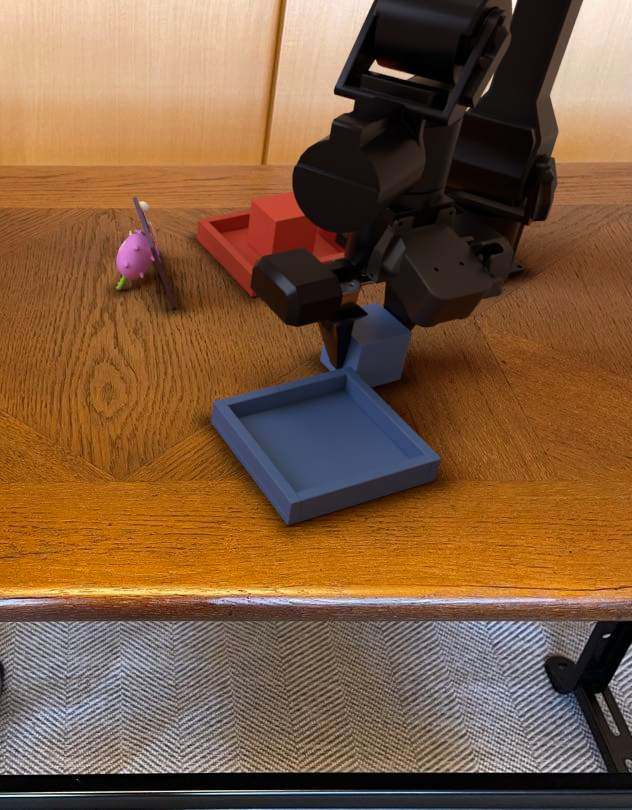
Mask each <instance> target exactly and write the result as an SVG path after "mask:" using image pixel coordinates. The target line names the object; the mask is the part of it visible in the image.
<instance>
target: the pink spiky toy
mask: <svg viewBox="0 0 632 810" xmlns="http://www.w3.org/2000/svg"><path fill="white" fill-rule="evenodd" d="M132 202H133V204H134V207H135V210H136V213H137V215H138V219H139V221H140V224H141V227H142V228H141V229H138V228H137V229H134V232H136V233H133V232H132V231H131V230H129V233H128V237H127V238H126V239H125V240H124V241H123V242H122V244H121V245H120V246H119V249H118V251H117V255H116V263H115V264H116V269H117V271H118V272H119V274H120V275H121V278H120V279H119V282H117V286H116V287H115V289H116V290H117V291H121V290H122V288H123V287H124V286H125V284H126V283H127V282H128V280H132V281H133V280H137V279H139V278H141V279H144V273H146V271H147V270H148V269H149V267H150V265H152V263H153V262H154V263H155V265H156V268H157V271H158V274H159V276H160V279H161V282H162V284H163V287H164V290H165V292H166V295H167V298H168V301H169V303H170V306H171V309H172V310H174V309H177V305H176V303H175V300H174V297H173V296H174V295H173V294H172V291H171V287H170V286H169V283H168V280H167V277H166V275H165V272H164V269H163V266H162V264H163V262H162V260H161V258H160V257H159V255H160V249H159V246H158V244H157V242H158V239H157V236H156V233H155V230H154V228H153V224H152V222H151V220H150V219H149V220H147V217H148V216H147V215H148V213H149V212H150V206H149V204H148V203H147V202H146V201H143V200H141V201H139V200H138V197H137V196H134V197H132Z"/></svg>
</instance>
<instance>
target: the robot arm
mask: <svg viewBox="0 0 632 810" xmlns="http://www.w3.org/2000/svg"><path fill="white" fill-rule="evenodd" d="M583 2H584V0H516V2H515V5H514V9H513V0H373V1H372V3H371V6H370V8H369V10H368V12H367V15H366V16H365V19H364V21H363V23H362V25H361V28H360V30H359V31H358V34H357V36H356V38H355V41H354V43H353V45H352V47H351V50H350V52H349V54H348V57H347V59H346V61H345V63H344V65H343V68H342V70H341V72H340V74H339V77H338V78H337V80H336V83H335V85H334V87H333V95H334V96H337V97H342V98H345V99H349V100H352V101H353V103H354V104H353V108H352V110H351V111H349V112H344V113H341V114H340V115H337V117H334V118H333V120H332V122H331V126H330V130H329V131H330V132H329V134H328V135H326V136H325V137H323V138H321V139H320V140H318V141H317V142H315V143H313V144H312V145H309V147H307V148H306V149H305V150H304V151H303V152H302V154H301V155H300V156H299V159H298V160H297V162H296V164H295V165H294V167H293V170H292V175H291V187H292V192H294V197H295V199H296V202H297V204H298V206H299V208H300V209H301V211H302V212H303V214H304V215H305V216H306V217H307V218H308V219H309V220H310V221H311V222H312V223H313V224H315V225H316V226H318V227H320V228H321V229H323V230H325V231H328V232H333V233H336V238H335V243H337V244H338V245H339V246H340V247H341V248H343V249H344V250H345V252H344V257H341V258H336V259H333V262H329V263H324V264H323V263H322V262H321V261H320V260H319V259H317V258H316V257H315V256H314V255H313V254H312V253H311V252H310V251H309V250H307V249H306V248H305V247H302V248H298V249H293V250H288V251H283V252H279V253H274V254H269V255H265V256H262V257H261V258H259V259H258V260H256V262H255V264H254V267H253V269H252V277H251V286H250V288H251V289H252V290H253V291H254V292H255V293H256V294H257V295H258V296H257V297H258V298H260V299H261V301H262V302H263V303H264V304H265V305H266V306H267V307H268V308H269V309H270V310H271V311H272V312H273V313H274V314H275V316H277V317H278V318H279V320H281V321H282V322H283V323H284V325H285V326H289V327H294V328H300V327H303V326H309V325H312V324H317V326H318V328H319V331H320V335H321V339H322V342H324V345H325V348H326V351H327V354H328V358H329V361H330V363H331V365H332V366H333V367H334V368H335V369H336V370H337V369H341V368H342V366H343V363H344V361H345V358H346V356H347V352H348V348H349V343H350V339H351V335H352V330H353V326H354V322H355V321H356V320H359V319H361V318H363V317H365V316H367V315H368V313H367V312H366V311H365V310H364V309H362V308H361V305H359V304H358V299H359V295H360V292H361V291H362V287H364V286H369V285H373V284H376V285H377V284H382V283H385V287H384V295H383V296H384V297H383V305H382V307H383V308H385V309H386V310H387V311H388V312H389V313H390V314H391V315H393V316H394V317H395V318H396V319H397V320H398V321H399V322H401V323H402V324H403V325H404V326H405V327H406V328H407V329H409V330H410V331H411V332H412V331H413V330H414V328H415V327H416V326H418V327H421V328H424V329H425V328H426V329H428V328H433V327H436V326H437V325H440V324H444V323H447V322H451V321H456V320H460V321H461V320H465V319H468V318H469V317H470V316H471V315H472V314H473V312H474V311H475V309H476V308H477V307H478V305H479V304H480V303H481V302H482V300H486V299H490V298H491V299H492V298H495V297H499V296H501V295H502V293H503V284H504V283H505V281H507V279H508V277H512V276H513V277H514V276H517V275H520V274H524V273H525V269H526V266H525V265H523V264H522V263H521V262H519V261H518V260H516V259H515V256H516V253H517V250H518V248H519V245H520V241H521V238H522V235H523V231H524V229H525V226H526V227H530V226H531V225H532V224H533V222H536V223H537V222H545V221H546V220H548V218H549V215H550V213H551V210H552V206H553V203H554V199H555V192H556V190H557V187H558V176H557V167H556V166H557V165H556V158H555V157H553V156H552V155H553V151H554V149H555V146H556V142H557V139H558V136H559V132H560V131H559V126H558V122H557V119H556V114H555V110H554V105H553V102H552V98H551V94H552V90H553V88H554V85H555V82H556V79H557V76H558V73H559V70H560V68H561V65H562V62H563V59H564V56H565V54H566V50H567V48H568V45H569V42H570V39H571V36H572V34H573V31H574V28H575V25H576V23H577V20H578V17H579V14H580V12H581V9H582V6H583ZM375 62H376V64H377V66H379V67H381V68H384V69H387V70H392V71H396V72H400V73H404V74H407V75H411V77H409V78H407V79H405V78H400V77H397V76H393V75H389V74H385V73H381V72H376V71H374V70H370V69H371V68H372V66H373V65H374V63H375ZM489 83H490V84H489ZM488 85H489V87H488ZM487 87H488V89H487ZM486 89H487V90H486ZM485 90H486V91H485Z"/></svg>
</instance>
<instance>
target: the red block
mask: <svg viewBox="0 0 632 810" xmlns="http://www.w3.org/2000/svg"><path fill="white" fill-rule="evenodd" d="M250 209H251V210H250ZM250 209H249V210H250V219H249V228H248V236H247V243H248V244H249V245H250V246H251V247H252V248H253V249H254V250H255V251H256V252H257V253H258V254H259V255H260V256H261V257H262V256H265V255H269V254H274V253H279V252H283V251H288V250H293V249H298V248H302V247H305V248H306V249H307V250H309V251H310V252H311V253H312V254H313V251H314V245H315V239H316V233H317V227H318V226H316V225H315V224H313V223H312V222H311V221H310V220H309V219H308V218H307V217H306V216H305V215H304V214H303V212H302V211H301V209H300V208H299V206H298V204H297V202H296V199H295V197H294V192H293V191H288V192H283V193H279V194H274V195H267V196H263V197H258V198H253V199H251V202H250Z"/></svg>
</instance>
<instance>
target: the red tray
mask: <svg viewBox="0 0 632 810" xmlns="http://www.w3.org/2000/svg"><path fill="white" fill-rule="evenodd" d="M250 210H251V208H250V209H245V210H241V211H235V212H229V213H223V214H219V215H215V216H209V217H206V218H199V219H197V230H196V240H197V241H198V242H199V243H200V244H201V246H202V247H204V248H205V250H207V252H209V254H210V255H211V256H212V257H213V258H214V259H215V260H216V261H217V262H218V263H219V264H220V266H222V268H223V269H224V270H225V271H226V272H227V273H228V274H229V275H230V276H231V277H232V278H233V279H234V280H235V281H236V283H238V284H239V286H241V288H243V289H244V291H245V292H246V293H247V294H248V295H249V296H250V297H251V298H254V297H259V296H258V295H257V294H256V293H255V292H254V291H253V290H252V289H251V288H250V286H251V277H252V269H253V267H254V264H255V262H256V260H258V259H259V258H261V256H260V255H259V254H258V253H257V252H256V251H255V250H254V249H253V248H252V247H251V246H250V245H249V244H248V243H247V236H248V228H249V219H250ZM335 238H336V233H333V232H328V231H325V230H323V229H321V228H320V227H317V233H316V239H315V245H314V251H313V255H314V256H315V257H316V258H317V259H319V260H320V261H321V262H322V263H323V264H324V263H329V262H333V259H336V258H341V257H344V252H345V250H344V249H343V248H341V247H340V246H339V245H338V244H337V243H335Z"/></svg>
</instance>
